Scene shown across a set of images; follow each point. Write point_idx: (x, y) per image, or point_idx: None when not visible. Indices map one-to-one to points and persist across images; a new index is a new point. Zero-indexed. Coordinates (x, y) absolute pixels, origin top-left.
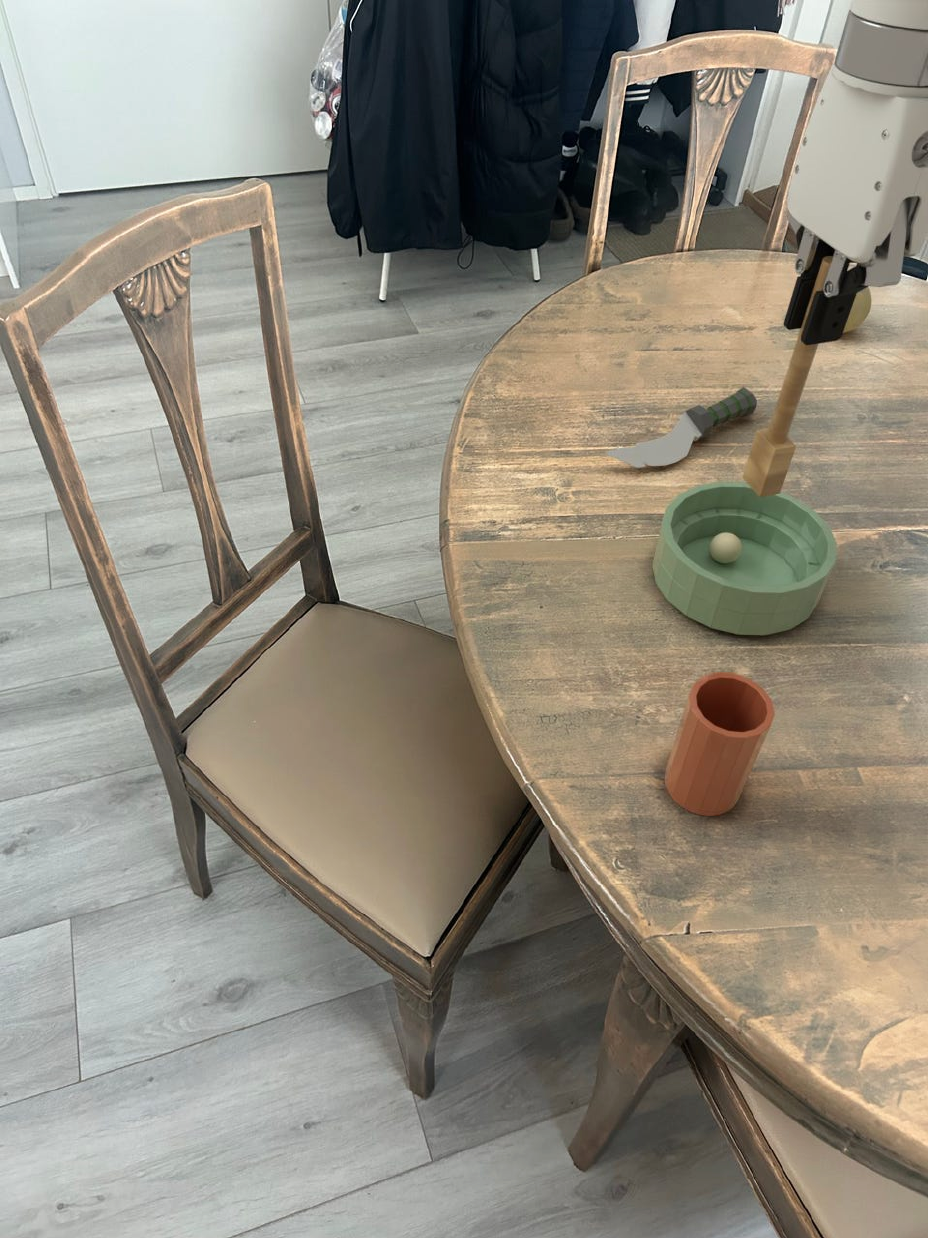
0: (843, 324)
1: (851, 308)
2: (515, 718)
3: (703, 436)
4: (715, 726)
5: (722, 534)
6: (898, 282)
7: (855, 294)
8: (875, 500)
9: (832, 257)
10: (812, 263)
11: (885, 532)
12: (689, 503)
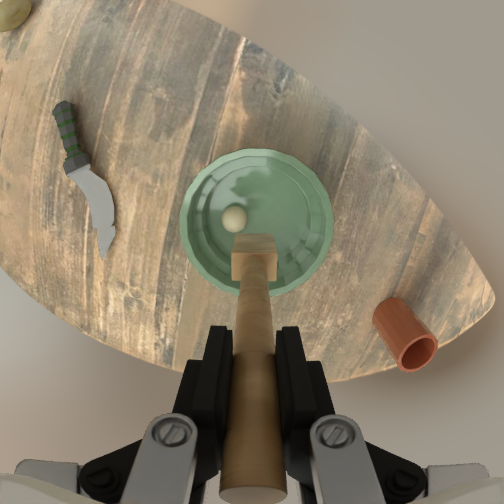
0: (323, 372)
1: (19, 7)
2: None
3: (89, 160)
4: (422, 365)
5: (228, 225)
6: (483, 466)
7: (314, 399)
8: (201, 49)
9: (232, 494)
10: (202, 481)
11: (240, 63)
12: (194, 246)
